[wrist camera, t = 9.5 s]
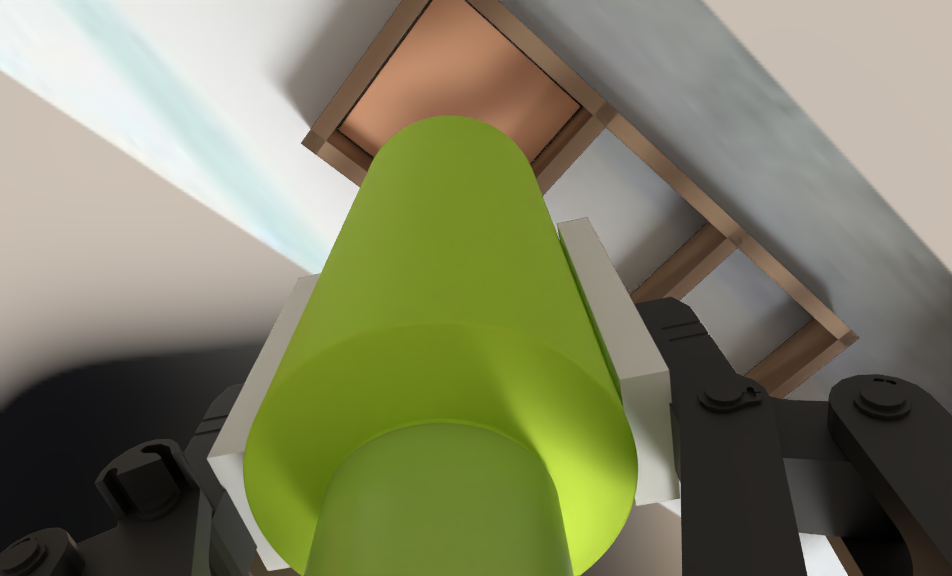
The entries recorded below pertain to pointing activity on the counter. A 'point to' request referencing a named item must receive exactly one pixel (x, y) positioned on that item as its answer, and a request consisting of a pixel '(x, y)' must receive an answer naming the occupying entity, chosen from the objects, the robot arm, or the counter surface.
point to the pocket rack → (542, 144)
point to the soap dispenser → (443, 383)
